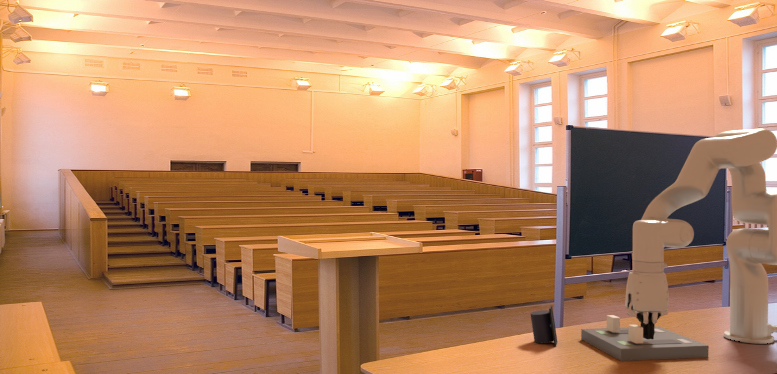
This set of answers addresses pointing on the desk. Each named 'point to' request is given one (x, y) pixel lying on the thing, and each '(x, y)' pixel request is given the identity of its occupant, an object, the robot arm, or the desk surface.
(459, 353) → the desk surface
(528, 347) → the desk surface
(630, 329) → the block
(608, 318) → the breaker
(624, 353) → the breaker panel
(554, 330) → the speaker
